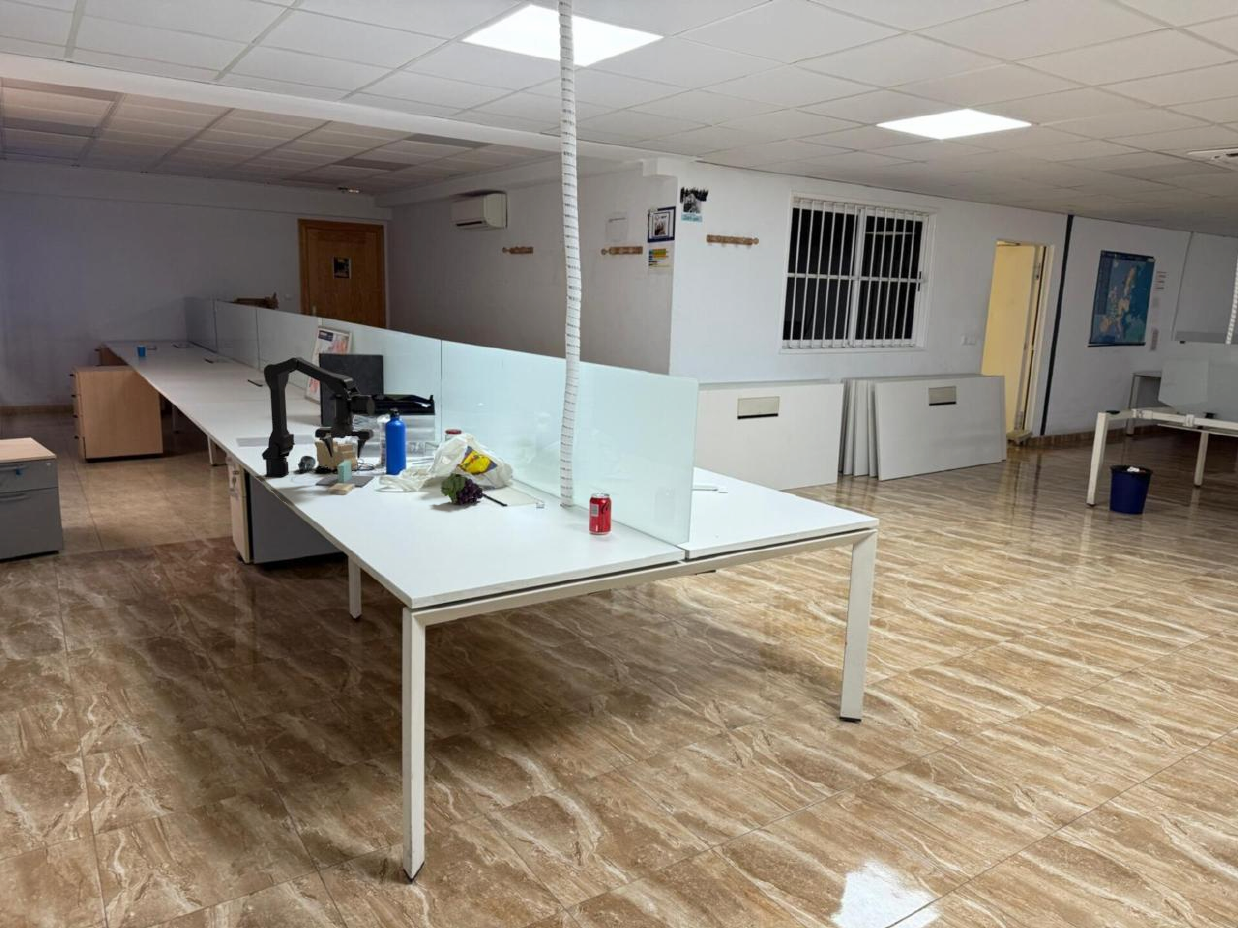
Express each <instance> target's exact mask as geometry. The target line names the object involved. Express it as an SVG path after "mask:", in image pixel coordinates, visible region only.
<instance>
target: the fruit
mask: <svg viewBox="0 0 1238 928" xmlns="http://www.w3.org/2000/svg"><path fill="white" fill-rule="evenodd" d="M440 490H441V493H442V494H443V495H444V497H447V496H448V498H449V499H450V501H451V503H452V505H455V504H458V505H462V504H463V503H464V502H465V503H466V502H469V503H472V502H473V503H474V502H477V501H478V500H481V499H483V497H484V494H483V488H482V487H480V486H479V484H478V483H474V482H473V479H471V478H468V477H467V476H462V474H461V473H456V472H451V473H450V475H448V476H447V477H446V478H445V480H443V481H441V486H440Z"/></svg>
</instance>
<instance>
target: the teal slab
mask: <svg viewBox="0 0 1238 928" xmlns="http://www.w3.org/2000/svg"><path fill="white" fill-rule="evenodd" d="M337 475H338V482H339V483H344V482H346V481H347V480H349V479H350V478H351V475H352V470H351V461H344V462H343V463H341V464H339V465H338V470H337Z"/></svg>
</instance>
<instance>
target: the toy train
mask: <svg viewBox="0 0 1238 928" xmlns="http://www.w3.org/2000/svg"><path fill="white" fill-rule="evenodd" d="M314 446H315V447H316V461H317V462H318V466H325V467H326V466H327V467H328V468H327V469H329V468H330V469H331V470H330V471H333V470H337V471H338V465H339V464H341V463H343V462H344V461H351V471H354V469H355V467H356V466H359V461H358V459H357V457H356V451H355V450H354V444H353V443H347V444H346V443H345V444H341V445H339V442H338V441H337V440H333V457H332V458H331V456H330V454H329V451H328V449H327V447H326V445H325V443H324V442H323V441H322V440H317V441H315V442H314Z"/></svg>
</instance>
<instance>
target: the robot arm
mask: <svg viewBox="0 0 1238 928" xmlns="http://www.w3.org/2000/svg"><path fill="white" fill-rule="evenodd" d="M296 371H297V372H299V373H301V374H304V376H305V375H306V376H308V377H309V378H311V379H314V380H316V381H318V382H320V383H322V384H323V385H325V386H326V388H327V389H328V390H330V391H331V392H332V394H331V396H329V398H328V400H329V401H334V415H335V417H334V418H333V423H332V425H331V426H330V427H322V426H321V427H318V428H317V429H316V430H315V431H314V438H315V439H318V441H323V442H324V443H325V445H326V447H327V449H328V451H329V454H330V456H331V458H332V457H333V441H334V439H345V438H346V437H357V438H358V439H357V440H356V442H357V448H356V449H357V450H356V456H357V457H356V459H357V460H358V459H360V457H361V455H362V453H363V449H364V446H365V444H366V443H367V442H368V441H370V440H371V439H372V438H374V437H375V436H374V434H375V433H374V430H373V429H372V428H361V429H359V430H357V431H356V430H355V427H354V422H353V421H354V420H353V419H354V415H357V416H359V415H361V416H373V415H374V413H375V409H376V404H375V402H374V400H373V399H372V395H369V394H366V395H362V393H361V392H360V390H359V389H358V388H357V386H356V385H355V382H354V379H353V378H352V377H350V376H348V375H344V374H339V373H334V372H331V371H329V370H326V369H325V368H323V367H320V366H318V365H316V364H314V363H313V362H310V361H307V360H306V359H304V358H303V357H301V356H296V357H295V356H294V357H291V358H288V359H287V360H285V361H282V362H276V363H272V364H267V365H266V366H265V367H264V368H263V376H264V381H265V383H266V385H267V387H268V389H269V395H270V408H271V409H270V411H271V426H272V428H271V433H270V435H269V437H268V443H267V444H268V445H267V447H266V449H265V450H264V452H262V453H261V457H262V460H263V461H265V470H266V471H265V474H264V477H271V478H272V477H274V478H284V477H285V476H287V475H288V474H290V472H289V461H287V460H288V459H287V458H288V457H289V455H290V453H291V451H292V450H293V449H294V446H295V445H296V443H295V440H294V439H295V434H294V433H290V431H289V430H288V422H287V404H286V387H287V385H288V382H289V376H290V374H293V373H294V372H296Z"/></svg>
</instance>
